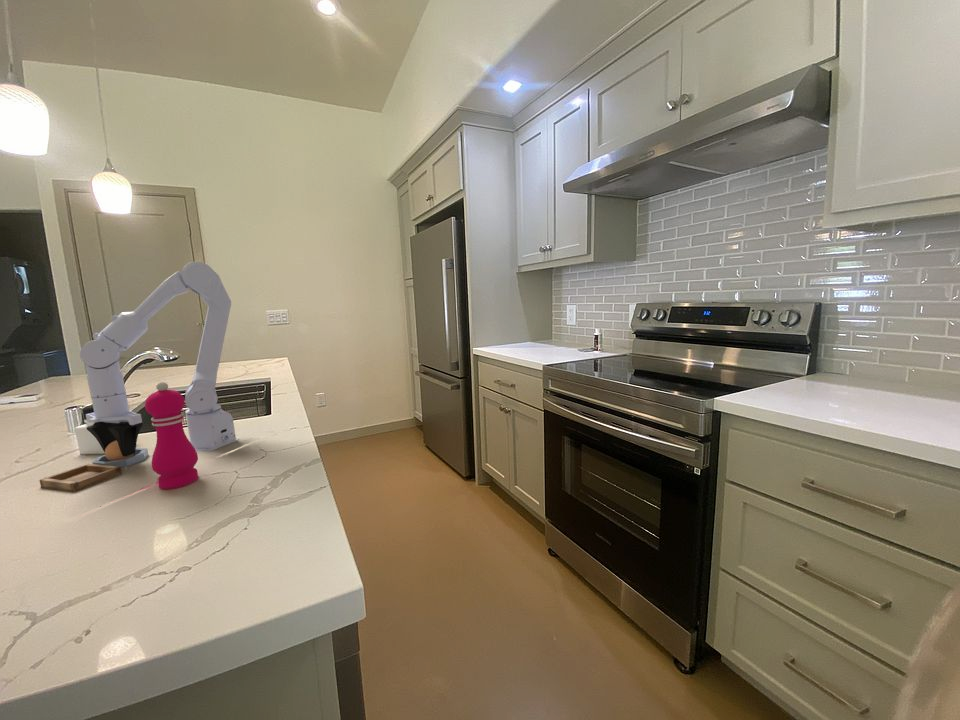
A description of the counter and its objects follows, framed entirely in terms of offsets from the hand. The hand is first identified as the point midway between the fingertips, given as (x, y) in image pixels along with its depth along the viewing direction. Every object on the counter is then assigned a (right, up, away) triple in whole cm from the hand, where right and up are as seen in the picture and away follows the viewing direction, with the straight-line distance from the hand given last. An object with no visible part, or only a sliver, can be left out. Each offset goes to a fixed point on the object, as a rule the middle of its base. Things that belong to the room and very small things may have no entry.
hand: (120, 453), depth 92 cm
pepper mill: (+22, -3, -12) cm, 25 cm away
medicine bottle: (-12, -2, +11) cm, 16 cm away
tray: (0, -4, -9) cm, 10 cm away
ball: (0, -2, 0) cm, 2 cm away
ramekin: (0, -2, 0) cm, 2 cm away
